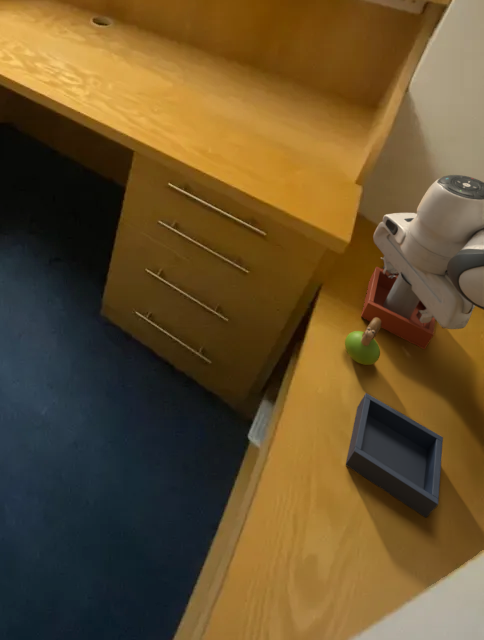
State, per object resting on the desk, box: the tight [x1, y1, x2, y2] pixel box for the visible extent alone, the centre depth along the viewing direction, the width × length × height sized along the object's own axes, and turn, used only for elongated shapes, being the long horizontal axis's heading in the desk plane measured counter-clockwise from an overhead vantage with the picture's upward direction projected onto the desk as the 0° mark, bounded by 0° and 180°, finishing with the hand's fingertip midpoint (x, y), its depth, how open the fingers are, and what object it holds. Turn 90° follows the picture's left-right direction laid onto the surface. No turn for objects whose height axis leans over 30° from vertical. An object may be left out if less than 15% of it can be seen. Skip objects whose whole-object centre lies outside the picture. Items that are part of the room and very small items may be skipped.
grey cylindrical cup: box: [383, 272, 420, 320], centre depth 99 cm, size 4×4×10 cm
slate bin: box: [345, 392, 444, 519], centre depth 79 cm, size 11×11×5 cm
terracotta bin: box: [360, 266, 436, 350], centre depth 101 cm, size 11×11×5 cm
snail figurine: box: [344, 317, 381, 366], centre depth 91 cm, size 5×6×12 cm
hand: (404, 296), depth 99 cm, fingers open, 8 cm apart
